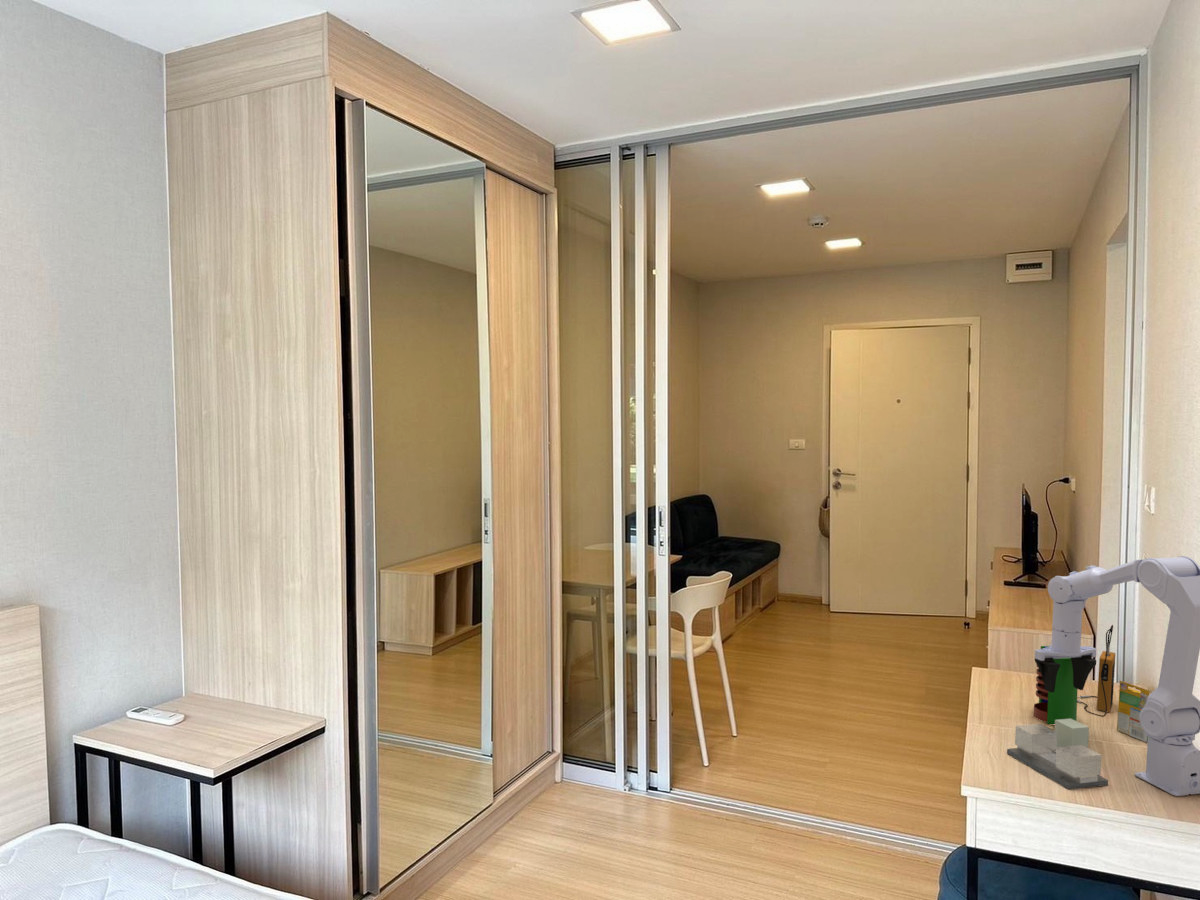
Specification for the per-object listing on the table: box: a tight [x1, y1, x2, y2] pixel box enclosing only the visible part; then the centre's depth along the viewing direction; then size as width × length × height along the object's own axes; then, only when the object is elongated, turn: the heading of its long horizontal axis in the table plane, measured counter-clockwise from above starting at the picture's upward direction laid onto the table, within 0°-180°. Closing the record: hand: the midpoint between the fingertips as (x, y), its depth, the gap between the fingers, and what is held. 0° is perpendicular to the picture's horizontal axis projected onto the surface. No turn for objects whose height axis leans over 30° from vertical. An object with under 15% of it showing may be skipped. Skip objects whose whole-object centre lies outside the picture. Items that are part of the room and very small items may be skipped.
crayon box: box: [1116, 680, 1151, 743], centre depth 192 cm, size 7×3×12 cm, turn 20°
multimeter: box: [1077, 624, 1116, 717], centre depth 211 cm, size 15×10×20 cm
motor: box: [1033, 645, 1079, 725], centre depth 202 cm, size 10×9×20 cm
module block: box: [1054, 718, 1090, 749], centre depth 183 cm, size 5×4×6 cm
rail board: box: [1006, 723, 1109, 790], centre depth 174 cm, size 17×9×6 cm, turn 14°
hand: (1063, 689), depth 193 cm, fingers open, 7 cm apart
